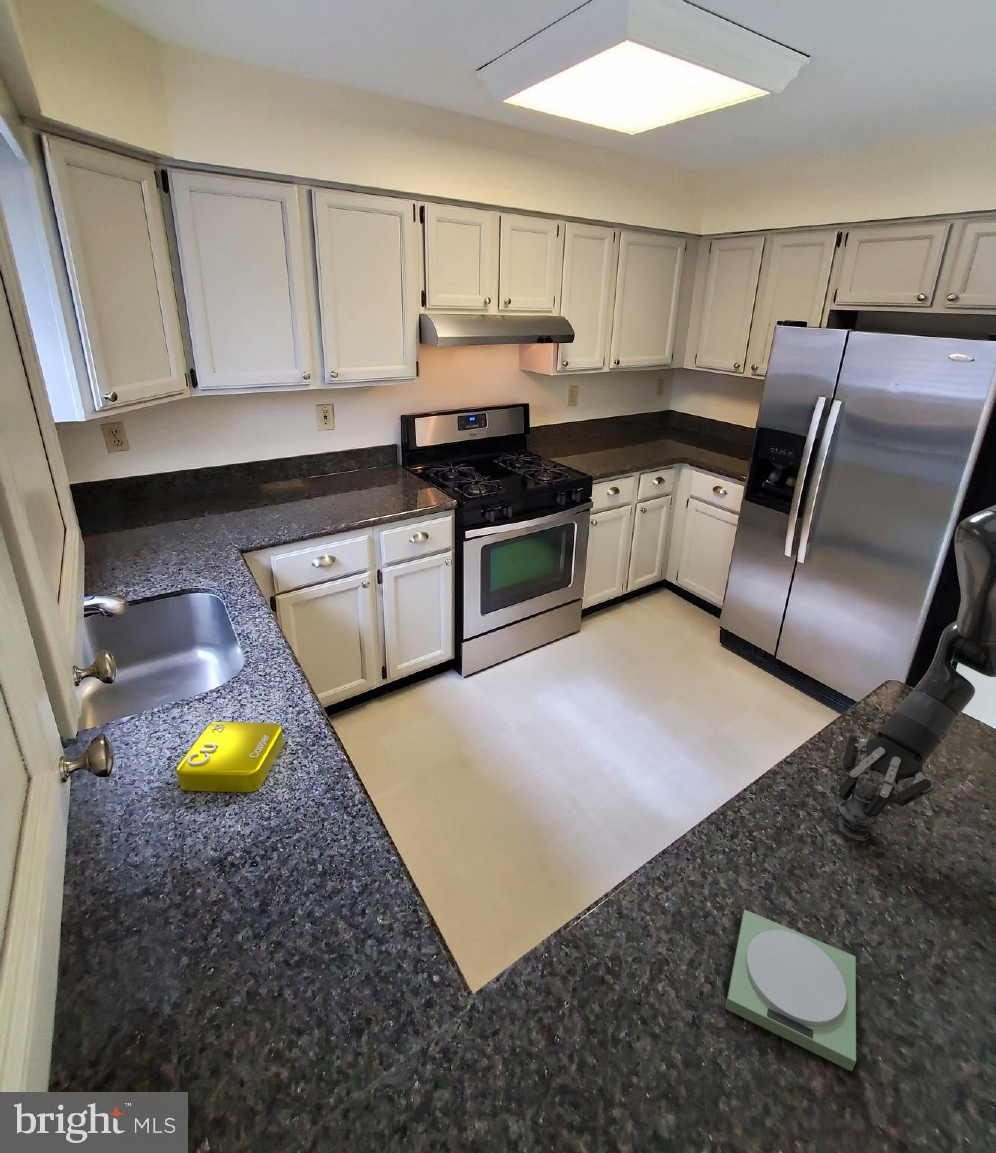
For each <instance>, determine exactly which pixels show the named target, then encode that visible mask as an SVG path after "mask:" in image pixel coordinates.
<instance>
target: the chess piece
mask: <svg viewBox="0 0 996 1153" xmlns="http://www.w3.org/2000/svg"><path fill="white" fill-rule="evenodd" d="M878 788H879V781H878V780H877V778H875V777H874V775H873V774H872V773H869V774H868V775H866V774H864V775H861V776H859V778H858V781H857V784H856V787H855V788H853V789H852V794H851V799H848V800H846V801H845V800H843V799H842V800H841V801H840V802H839V804H838V811H839V816H838V817H837V818H836V820H835V825H836V828H837V829H838V830H839V832H840V833H842V835H844V836H846V837H848V838H850V839H852V840H855V841H864V842H865V841H867V840H869V839H870V838H871V836H872V831H871V829H872V828H874V827H875V826H877V824H878V822H879V815H878V816H876V817H874V816H872V817H871V818H869V817H867V816H866V815H865V814H864V813H863V811H864V810H865V808H866V807H867V806H868V805H869V803H870V802H871V801H872V799H873V798H874V797H875V796H876V794H877V791H878Z"/></svg>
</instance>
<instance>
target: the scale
mask: <svg viewBox="0 0 996 1153" xmlns="http://www.w3.org/2000/svg"><path fill="white" fill-rule="evenodd" d="M856 960H857V957H856V955H853V954H851V953H849V952H847V951H844V950H842V949H839V948H837V947H834V946H832V945H830V944H827V943H825V942H823V941H820V940H818V939H816V938H813V937H811V936H808V935H807V934H803V933H801V932H799V931H797V930H795V929H792V928H790V927H788V926H785V925H783V924H780V923H777V922H775V921H773V920H770V919H768V918H766V917H764V916H761V915H759V914H756V913H755V912H754V913H753V912H752V911H749V910H747V909H744V910H743V913H742V916H741V922H740V926H739V933H738V938H737V944H736V948H735V954H734V959H733V965H732V969H731V970H732V971H731V975H730V981H729V985H728V991H727V997H726V1002H725V1007H724V1008H725V1010H727V1011H728V1012H730V1013H733V1014H735V1015H736V1016H738V1017H741V1018H743V1019H745V1020H747V1021H749V1022H751V1023H753V1024H755V1025H757V1026H759V1027H760V1028H763V1029H765V1030H767V1031H769V1032H771V1033H773V1034H775V1035H777V1036H779V1037H782V1038H783V1039H785V1040H788V1041H790V1042H791V1043H793V1044H796V1045H797V1046H799V1047H800V1048H801V1047H802V1048H803V1049H805V1050H807V1051H809V1052H811V1053H813V1054H815V1055H818V1056H819V1057H822V1058H823V1059H825V1060H827V1061H829V1062H831V1063H833V1064H835V1065H837V1066H840V1067H841V1068H843V1069H845V1070H846V1071H850V1072H853V1070H854V1068H855V1065H856V1063H857V966H856V965H857V961H856Z"/></svg>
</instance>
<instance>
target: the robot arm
mask: <svg viewBox="0 0 996 1153" xmlns="http://www.w3.org/2000/svg"><path fill="white" fill-rule="evenodd" d="M954 554H955V560H956V561H955V562H956V570H957V578H958V583H959V588H960V603H959V608H958V614H957V619H956V620H955V621H953V622H951V623H950V624H948V625H946V627H945V628H944V630H943V631H942V632H941V636H940V637H939V642H938V645H937V648H936V651H935V654H934V657H933V659H932V662H931V664H930V666H929V668H928V670H927V671H926V673H925V674H924V675H923V676H922V678H921V679H920V681H918V683H917V684H916V686H915V687H914V689H913V690H912V691H911V692H910V693H909V694H908V695H907V696H906V697H905V698H903V700H902V701H901V702H900V703H899V704H898V706H897V707H896V708H895V710H894V711H893V712H892V713H891V715H890V716H889V717H888V718H887V720H886V721H885V723H884V724H883V725H882V726H881V728H880V729H879V730H878V731H877V733H876V735H875V736H873V737H871V738H869V739H863V738H858V737H857V736H856V735H855V734H851V735H849V736H848V740H847V743H846V747H845V750H844V754H843V759H842V762H841V765H842V767H843V768H844V770H845V771H846V772H847V774H848V775H847V777H846V778H845V780H844V781H843V782H842V784H841V785H840V786H839V788H838V792H839V794H838V796H839V798H840V799H841V800H842V801H843V800H845V801H846V800H849V799H850V797H852V795H853V794H852V789H853V788H855V787H856V784H857V781H858V778H859V776H861V775H864V774H866V775H868V774H869V773H872V775H873V774H874V773H878V774H882V775H883V777H884V779H883V783H882V787H881V789H880V790H879V794H877V793H876V794H875V797H874V798H873V799H872V801H871V802H870V803H869V805H868V806H867V807H866V808H865V810H864V811H863V813H864V814H865V815H866V816H867V817H869V818H871V817H872V816H874V817H876V816H878V817H879V815H880V814H881V813H882V811H883V810H884V808H885V807H886V806H887V805H888V804H890V803H891V804H895V805H897V806H899V807H905V806H907V805H909V804H910V803H912V802H914V801H916V800H918V799H920V798H921V797H924V796H925V795H927V794H929V793H931V792H932V791H933V790H934V788H935V787H934V785H933V783H932V781H931V780H930V779H928V778H927V777H926V776H925V775H924V774H923V773H922V772H923V766H924V764H925V763H926V762H927V761H928V759H929V758H930V757H931V756H932V754H933V753H934V751H935V750H936V749H937V747H938V746H939V745H940V744H941V743H942V741H944V740H945V738H947V736H948V733H949V732H950V730H951V729H952V727H953V726H954V724H955V722H956V720H957V718H958V717H959V716H960V715H961V713H962V712H963V710H964V709H966V707H967V705H968V704H969V703H970V702H971V700H972V699H973V698H974V696H975V694H976V688H975V686H974V684H973V683H972V682H971V681H970V680H968V679H967V678H966V677H965V676H964V675H962V674H961V673H959V671H957V670H956V669H955V668H954V667H953V665H952V664H953V662H956V663H958V664H960V665H963V666H964V667H967V668H969V669H970V670H973V671H974V672H977V673H979V674H980V675H983V676H984V677H985V676H986V677H989V678H996V504H994V505H992V506H990V507H987V508H985V509H983V510H980V511H978V512H975V513H973V514H971V515H969V516H968V517H966V518H965V519H963V520H962V521H960V522H959V524H958V525H957V526H956V529H955V533H954ZM865 748H866V755H867V756H866V757H865V758H864V759H863V760H861V761H860V762H859V764H858V765H857V766H856V764H857V758H858V755H859V753H860V752H863V750H864V749H865ZM912 778H915V779H913V780H912V785H909V786H908V787H906V788H905V789H903V790H900V791H899V792H897V793H896V791H897V790H898V788H899V786H900V784H901V781H902V780H907V779H912Z"/></svg>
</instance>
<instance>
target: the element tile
mask: <svg viewBox="0 0 996 1153" xmlns="http://www.w3.org/2000/svg"><path fill="white" fill-rule="evenodd" d="M284 745H285V740H284V735H283V727H282V725H281V724H280V723H276V722H254V721H253V722H249V721H214V722H211V723H210V724H209V725H207V726H206V727H205V728H204V730H203V731H202V732H201V734H200V735H199V736H198V738H197V739H196V740H195V741H194V743H193V744H192V746H190V748H189V750H188V751H187V752H186V753H185V755H184V756H183V758H181V760H180V761H179V763H178V764H177V765H176V768H175V773H176V776H177V781H178V784H179V787H180V789H181V790H183V791H185V792H211V793H212V792H213V793H217V792H218V793H246V794H247V793H252V792H255V791H258V790H260V788H262V786H263V785H264V783H265V780H266V779H267V777H268V775H269V773H270V771H271V769H272V768H273V766H274V764H275V762H276V760H277V758H278V756H279V755H280V753H281V752H282V749H283V747H284Z"/></svg>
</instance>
